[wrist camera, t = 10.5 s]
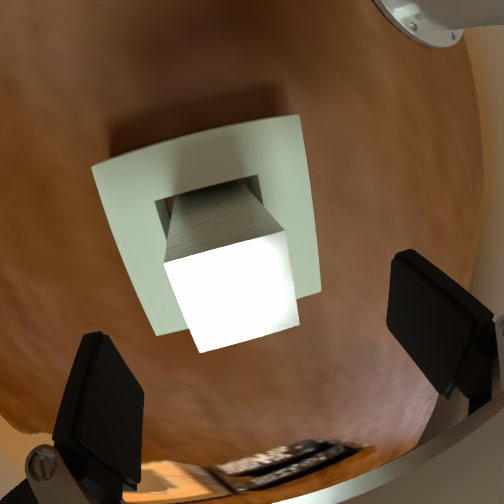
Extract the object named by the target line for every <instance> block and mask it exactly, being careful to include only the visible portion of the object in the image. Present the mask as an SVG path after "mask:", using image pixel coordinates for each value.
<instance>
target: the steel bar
mask: <svg viewBox="0 0 504 504" xmlns="http://www.w3.org/2000/svg"><path fill="white" fill-rule="evenodd" d="M164 265H165V268H166V271H167V273H168V276H169V279H170V281H171V284H172V287H173V289H174V292H175V294H176V297H177V299H178V302H179V305H180V307H181V309H182V312H183V314H184V317H185V319H186V322H187V324H188V326H189V329H190V331H191V334H192V336H193V338H194V341H195V343H196V345H197V347H198V350H199V352H200V353H201V352H205V351H209V350H213V349H217V348H221V347H224V346H228V345H232V344H236V343H239V342H243V341H247V340H250V339H254V338H257V337H261V336H264V335H267V334H271V333H274V332H277V331H281V330H284V329H287V328H290V327H294V326H297V325H299V318H298V311H297V304H296V297H295V290H294V284H293V277H292V270H291V264H290V258H289V251H288V245H287V239H286V233H285V230H284V229H283V228H282V226H281V225H280V224H279V223H278V222H277V221H276V220H275V218H274V217H273V216H272V215H271V214H270V213H269V212H268V211H267V209H266V208H265V207H264V206H263V205H262V204H261V203H260V202H259V200H258V199H257V198H256V197H255V196H254V195H253V194H252V193H251V192H250V190H249V189H248V188H247V187H246V186H245V185H244V184H243V183H242V182H241V180H240V179H235V180H231V181H227V182H223V183H219V184H215V185H211V186H207V187H203V188H199V189H195V190H192V191H188V192H184V193H180V194H177V195H175V199H174V204H173V210H172V215H171V221H170V227H169V233H168V239H167V245H166V252H165V259H164Z"/></svg>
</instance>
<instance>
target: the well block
mask: <svg viewBox="0 0 504 504" xmlns="http://www.w3.org/2000/svg"><path fill="white" fill-rule="evenodd" d="M91 168H92V171H93V175H94V178H95V181H96V185H97V188H98V191H99V194H100V198H101V201H102V204H103V207H104V210H105V213H106V216H107V219H108V221H109V224H110V227H111V230H112V233H113V235H114V238H115V241H116V243H117V246H118V249H119V251H120V254H121V256H122V259H123V262H124V264H125V267H126V269H127V271H128V274H129V276H130V279H131V281H132V283H133V286H134V288H135V290H136V293H137V295H138V297H139V299H140V302H141V304H142V306H143V308H144V310H145V313H146V315H147V317H148V319H149V321H150V323H151V325H152V327H153V330H154V332H155V334H156V336H158V335H163V334H167V333H171V332H175V331H180V330H184V329H188V328H189V326H188V324H187V322H186V319H185V317H184V314H183V312H182V309H181V307H180V305H179V302H178V299H177V297H176V294H175V292H174V289H173V287H172V284H171V281H170V279H169V276H168V273H167V271H166V268H165V265H164V259H165V252H166V245H167V239H168V233H169V227H170V218H169V214H168V211H167V207H166V204H165V201H164V198H166V197H170V196H173V195H177V194H180V193H184V192H188V191H192V190H195V189H199V188H203V187H207V186H211V185H215V184H219V183H223V182H227V181H231V180H235V179H239V178H244V177H248V181H249V186H250V191H251V193H252V194H253V195H254V196H255V197H256V198H257V199H258V200H259V202H260V203H261V204H262V205H263V206H264V207H265V208H266V209H267V211H268V212H269V213H270V214H271V215H272V216H273V217H274V218H275V220H276V221H277V222H278V223H279V224H280V225H281V226H282V228H283V229H284V230H285V233H286V239H287V245H288V251H289V258H290V264H291V270H292V277H293V284H294V290H295V297H296V299H298V298H301V297H305V296H308V295H311V294H314V293H318V292H321V280H320V269H319V258H318V248H317V238H316V229H315V220H314V212H313V204H312V196H311V188H310V181H309V174H308V167H307V160H306V153H305V147H304V141H303V135H302V129H301V123H300V117H299V114H296V115H281V116H274V117H268V118H262V119H256V120H251V121H246V122H241V123H236V124H231V125H226V126H222V127H217V128H213V129H208V130H204V131H200V132H196V133H192V134H188V135H184V136H180V137H177V138H173V139H169V140H166V141H162V142H159V143H155V144H152V145H149V146H145V147H142V148H139V149H136V150H133V151H130V152H127V153H124V154H121V155H118V156H115V157H112V158H109V159H107V160H105V161H103V162H100V163H98V164H96V165H94V166H92V167H91Z"/></svg>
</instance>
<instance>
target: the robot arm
mask: <svg viewBox="0 0 504 504" xmlns="http://www.w3.org/2000/svg"><path fill="white" fill-rule="evenodd" d="M374 2H375V3H376V5H377V6H378V7H379V8H380V10H381V11H382V12H383V14H384V15H385V16H386V17H387V18H388V19H389V20H390V21H391V22H392V23H393V24H394V25H395V26H396V27H397V28H398V29H399V30H401V31H402V32H403V33H404V34H406V35H407V36H408V37H410V38H411V39H413V40H415V41H417V42H418V43H420V44H422V45H425V46H429V47H432V48H443V47H450V46H452V45H454V44H456V43H457V42H458V41H459V40H460V38H461V36H462V34H463V31H464V28H472V27H481V26H491V25H504V0H374ZM493 316H494V314H493V313H492V312H491V311H490V310H489V309H488V308H486V307H485V306H484V305H483V304H482V303H481V302H479V301H478V300H477V299H476V298H475V297H474V296H472V295H471V294H470V293H469V292H468V291H466V290H465V289H464V288H463V287H461V286H460V285H459V284H458V283H456V282H455V281H454V280H453V279H451V278H450V277H449V276H448V275H446V274H445V273H444V272H443V271H441V270H440V269H439V268H437V267H436V266H435V265H433V264H432V263H431V262H429V261H428V260H427V259H425V258H424V257H423V256H421V255H420V254H419V253H417V252H416V251H415V250H413V249H408V250H405V251H402V252H399V253H397V254H396V255H395V257H394V259H393V260H392V261H391V274H390V288H389V299H388V309H387V318H386V323H387V327H388V329H389V331H390V332H391V333H392V334H393V336H394V337H395V338H396V339H397V341H398V342H399V343H400V344H401V346H402V347H403V348H404V349H405V351H406V352H407V353H408V354H409V356H410V357H411V358H412V359H413V361H414V362H415V363H416V365H417V366H418V367H419V368H420V370H421V371H422V372H423V374H424V375H425V376H426V377H427V379H428V380H429V381H430V383H431V384H432V385H433V387H434V388H435V389H436V391H437V392H438V393H439V394H440V395H443V394H444V396H445V397H446V398H447V400H450V399H451V398H453V397H454V396H456V395H457V394H459V393H460V391H461V392H462V394H463V395H464V407H463V417H462V421H461V422H459V423H458V424H456V425H455V426H453V427H452V428H450V429H449V430H447V431H446V432H444V433H442V434H441V435H439V436H438V437H436V438H434V439H433V440H431V441H429V442H428V443H426V444H424V445H423V446H420V447H419V448H417V449H415V450H413V451H411V452H409V453H408V454H406V455H404V456H402V457H400V458H398V459H396V460H394V461H392V462H390V463H388V464H385V465H383V466H381V467H379V468H377V469H375V470H372V471H370V472H368V473H365V474H363V475H361V476H358V477H356V478H353V479H351V480H348V481H345V482H343V483H340V484H337V485H335V486H332V487H329V488H326V489H323V490H320V491H317V492H314V493H310V494H307V495H304V496H300V497H297V498H293V499H289V500H285V501H281V502H277V503H273V504H504V315H501V316H500V317H499V318H498V319H497V321H496V323H494V322H493V321H492V319H493ZM143 408H144V392H143V389H142V387H141V386H140V384H139V383H138V381H137V380H136V378H135V377H134V375H133V374H132V372H131V371H130V369H129V368H128V366H127V365H126V363H125V362H124V360H123V358H122V357H121V355H120V354H119V352H118V350H117V349H116V347H115V346H114V344H113V342H112V341H111V339H110V337H109V336H108V335H104V334H103V333H102V332H101V331H98V332H93V333H88V334H85V335H84V336H83V338H82V340H81V343H80V346H79V348H78V351H77V354H76V357H75V360H74V363H73V366H72V369H71V372H70V375H69V378H68V381H67V384H66V388H65V391H64V394H63V398H62V401H61V405H60V408H59V412H58V416H57V419H56V423H55V427H54V431H53V436H52V440H53V441H54V446H51V445H47V444H43V445H39V446H37V447H35V448H34V449H33V450H32V451H31V452H30V453H29V455H28V456H27V458H26V462H25V473H26V477H27V478H26V479H24V480H23V481H22V482H21V483H20V484H19V485H17V486H16V487H15V488H14V489H13V490H11V491H10V492H9V493H8V494H7V495H5V496H4V497H3V498H2V499H1V500H0V504H127V503H126V502H125V501H124V500H123V499H122V493H123V491H137V484H138V483H140V481H141V449H142V425H143Z"/></svg>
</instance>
